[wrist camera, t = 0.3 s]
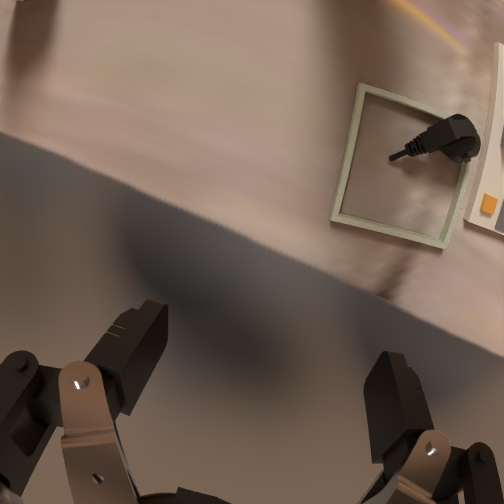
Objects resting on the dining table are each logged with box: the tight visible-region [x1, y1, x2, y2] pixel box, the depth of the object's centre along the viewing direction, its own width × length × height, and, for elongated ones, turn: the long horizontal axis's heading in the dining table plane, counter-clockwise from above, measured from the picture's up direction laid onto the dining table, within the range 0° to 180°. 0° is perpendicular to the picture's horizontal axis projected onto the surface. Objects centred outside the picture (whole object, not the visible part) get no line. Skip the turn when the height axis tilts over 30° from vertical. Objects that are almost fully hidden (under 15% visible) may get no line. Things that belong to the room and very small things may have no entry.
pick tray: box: [329, 83, 479, 249], centre depth 33 cm, size 18×18×2 cm
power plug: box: [389, 114, 481, 163], centre depth 30 cm, size 6×8×12 cm
